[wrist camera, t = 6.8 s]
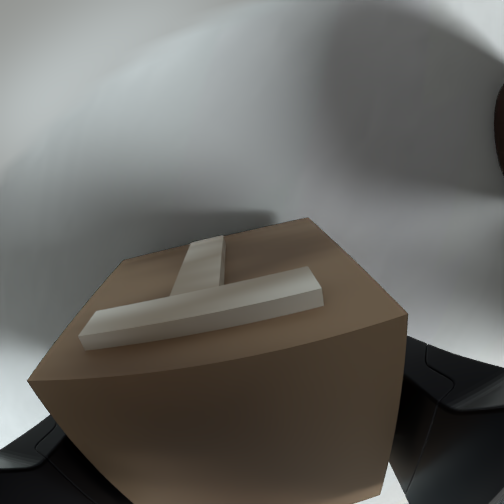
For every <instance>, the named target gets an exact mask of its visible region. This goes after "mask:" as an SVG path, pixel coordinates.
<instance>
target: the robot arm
mask: <svg viewBox="0 0 504 504" xmlns="http://www.w3.org/2000/svg"><path fill="white" fill-rule="evenodd" d="M389 463H390V465H391V467H392V469H393V471H394V473H395V475H396V477H397V479H398V481H399V483H400V485H401V487H402V489H403V492H404V494H406V495H405V496H406V498H407V500H408V502H409V504H504V368H503V367H499V366H495V365H491V364H488V363H484V362H480V361H477V360H473V359H470V358H466V357H463V356H460V355H456V354H453V353H450V352H448V351H445V350H442V349H440V348H437V347H435V346H432V345H430V344H428V345H427V344H426V343H424V342H422V341H419V340H417V339H414V338H412V337H410V336H407V339H406V352H405V363H404V373H403V381H402V389H401V397H400V404H399V410H398V416H397V422H396V428H395V433H394V438H393V443H392V448H391V453H390V457H389ZM0 504H134V503H132V502H131V501H130V500H129V499H128V498H127V497H126V496H125V495H123V494H122V493H121V492H120V491H119V490H118V489H117V488H116V487H115V486H114V485H113V484H112V483H111V482H110V481H109V480H107V479H106V478H105V477H104V476H103V475H102V474H101V473H100V472H99V470H98V469H97V468H96V467H95V466H94V465H93V464H92V463H91V462H90V461H89V460H88V459H87V458H86V457H85V456H84V455H83V453H82V452H81V451H80V450H79V449H78V448H77V447H76V445H75V444H74V443H73V442H72V441H71V440H70V438H69V437H68V436H67V435H66V434H65V432H64V431H63V430H62V429H61V427H60V426H59V425H58V424H57V422H56V421H55V420H54V418H53V417H52V416H51V414H50V415H49V416H48V417H46V418H45V419H44V420H42V421H41V422H40V423H39V424H37V425H36V426H34V427H33V428H32V429H30V430H29V431H27V432H26V433H24V434H23V435H21V436H20V437H19V438H17V439H16V440H14V441H13V442H11V443H10V444H8V445H7V446H5V447H4V448H2V449H0Z"/></svg>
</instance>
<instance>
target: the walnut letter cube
mask: <svg viewBox="0 0 504 504" xmlns="http://www.w3.org/2000/svg"><path fill="white" fill-rule="evenodd" d="M407 323H408V313H407V312H406V311H405V310H404V309H403V308H402V307H401V306H400V305H399V304H398V303H397V302H396V301H395V300H394V299H393V298H392V297H391V296H390V295H389V294H388V293H387V292H386V291H385V290H384V289H383V288H382V287H381V286H380V285H379V284H378V283H377V282H376V281H375V280H374V279H373V278H372V277H371V276H370V275H369V274H368V273H367V272H366V271H365V270H364V269H363V268H362V267H361V266H360V265H359V264H358V263H357V262H356V261H354V260H353V259H352V258H351V257H350V256H349V255H348V254H347V253H346V252H345V251H344V250H343V249H342V248H341V247H340V246H339V245H338V244H337V243H335V242H334V241H333V240H332V239H331V238H330V237H329V236H328V235H327V234H326V233H325V232H324V231H323V230H321V229H320V228H319V227H318V226H317V225H316V224H315V223H314V222H313V221H312V220H310V219H309V218H303V219H298V220H294V221H289V222H285V223H280V224H276V225H271V226H267V227H262V228H258V229H253V230H249V231H244V232H240V233H235V234H231V235H227V236H223V235H221V236H216V237H212V238H208V239H204V240H199V241H195V242H191V244H188V245H184V246H180V247H175V248H171V249H167V250H163V251H159V252H155V253H150V254H146V255H142V256H138V257H134V258H130V259H126V260H123V261H122V262H121V263H120V265H119V266H118V267H117V268H116V269H115V270H114V271H113V272H112V274H111V275H110V276H109V277H108V278H107V279H106V280H105V282H104V283H103V284H102V285H101V286H100V287H99V289H98V290H97V291H96V292H95V293H94V294H93V296H92V297H91V298H90V299H89V300H88V302H87V303H86V304H85V305H84V306H83V308H82V309H81V310H80V311H79V313H78V314H77V315H76V316H75V318H74V319H73V320H72V321H71V323H70V324H69V325H68V326H67V328H66V329H65V330H64V331H63V333H62V334H61V335H60V337H59V338H58V339H57V340H56V342H55V343H54V344H53V346H52V347H51V348H50V350H49V351H48V352H47V354H46V355H45V356H44V358H43V359H42V360H41V362H40V363H39V364H38V366H37V367H36V369H35V370H34V371H33V373H32V374H31V376H30V377H29V378H28V380H27V382H28V383H29V385H30V386H31V388H32V389H33V391H34V392H35V394H36V395H37V396H38V398H39V399H40V401H41V402H42V404H43V405H44V406H45V408H46V409H47V410H48V412H49V413H50V414H51V416H52V417H53V418H54V420H55V421H56V422H57V424H58V425H59V426H60V427H61V429H62V430H63V431H64V432H65V434H66V435H67V436H68V437H69V438H70V440H71V441H72V442H73V443H74V444H75V445H76V447H77V448H78V449H79V450H80V451H81V452H82V453H83V455H84V456H85V457H86V458H87V459H88V460H89V461H90V462H91V463H92V464H93V465H94V466H95V467H96V468H97V469H98V470H99V472H100V473H101V474H102V475H103V476H104V477H105V478H106V479H107V480H109V481H110V482H111V483H112V484H113V485H114V486H115V487H116V488H117V489H118V490H119V491H120V492H121V493H122V494H123V495H125V496H126V497H127V498H128V499H129V500H130V501H131V502H132V503H134V504H354V503H357V502H360V501H363V500H366V499H369V498H372V497H375V496H378V495H380V493H381V489H382V486H383V482H384V478H385V474H386V470H387V466H388V462H389V457H390V453H391V448H392V443H393V438H394V433H395V428H396V422H397V416H398V410H399V404H400V397H401V389H402V381H403V373H404V363H405V352H406V339H407Z"/></svg>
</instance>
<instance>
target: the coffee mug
mask: <svg viewBox="0 0 504 504" xmlns="http://www.w3.org/2000/svg"><path fill="white" fill-rule="evenodd" d="M494 131H495V143H496V150H497V155H498V159H499V164H500V167H501V170H502V173H503V176H504V85H503V86H502V88H501V90H500V91H499V94H498V97H497V101H496V107H495V116H494Z"/></svg>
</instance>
